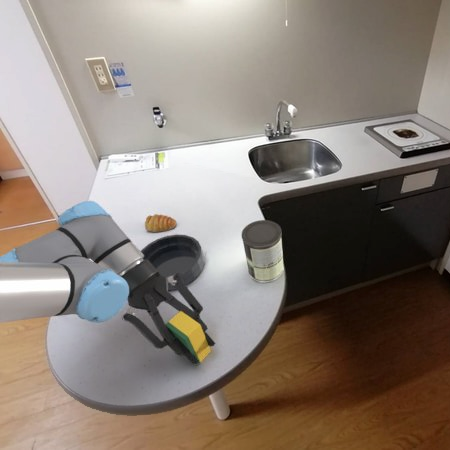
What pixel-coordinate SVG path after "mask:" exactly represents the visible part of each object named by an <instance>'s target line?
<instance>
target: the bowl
mask: <svg viewBox="0 0 450 450" xmlns="http://www.w3.org/2000/svg"><path fill="white" fill-rule="evenodd" d="M140 251H141V252H142V254H143V255H144V258H143V259H144V260H149V262H150V263H151V264H152V265H153V266H154V267H155V268H156V270H157V271H158V272H159V273H160V274H161V275H163V276H166V277H170V276H173V275H175V274H177V273H179V274H180V275H181V278H182V281H183V283H184V284H185V286H187V285H188V284H190V283H191V282H192V281H194V280H195V279H197V277H198V276H199V275H200V274H201V272H202V271H203V268H204V266H205V255H204V251H203V248H202V246H201V244H200V242H199V240H197V239H196V238H194V236H190V235H187V234H170V235H165V236H161V237H159V238H157V239H155V240H153V241H151V242H150V243H148V244H147V245H145V246H144V247H143V248H142V249H141V250H140ZM168 290H169V291H172V290H177V289H176V287H175V286H174V285H171V283H169V282H168Z"/></svg>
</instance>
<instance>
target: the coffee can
mask: <svg viewBox="0 0 450 450" xmlns="http://www.w3.org/2000/svg"><path fill="white" fill-rule="evenodd" d="M282 234H283V233H282V227H281V226H280V225H279V224H278V223H276V222H274V221H272V220H267V219H262V220H255V221H252V222H250V223H248V224H246V226H244V227H243V229H242V231H241V240H242V243H243V249H244V253H245V259H246V264H247V265H246V266H247V273H248V275H249V277H250V278H251V280H253V281H255V282H257V283H260V284H267V283H272V282H275V281H276V280H278V279H279V278H281V276H282V275H283V273H284V269H285V266H284V254H283V239H282Z"/></svg>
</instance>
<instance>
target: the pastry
mask: <svg viewBox="0 0 450 450" xmlns="http://www.w3.org/2000/svg"><path fill="white" fill-rule="evenodd" d="M176 225H177V221H176V219H175V218H173V217H171V216H168V215H164V214H158V213H156V214H153V215H151V214H150V215H148V216H147V217H146V218H145V220H144V228H145V230H146V231H149V232H154V233H158V232H166V231H170V230H172V229H174V228H175V227H176Z"/></svg>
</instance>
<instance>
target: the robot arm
mask: <svg viewBox="0 0 450 450" xmlns="http://www.w3.org/2000/svg"><path fill="white" fill-rule="evenodd" d="M57 223H58V224H59V227H58V228H56V229H55V230H52V231H50V232H48V233H46V234H44V235H41V236H39V237H37V238H35V239H32V240H31V241H28V242H26V243H24V244H22V245H20V246H17V247H14V248H12V249H11V250H10V251H8V252H6V253H5V254H3V255H1V256H0V324H1V323H9V322H18V321H25V320H33V319H41V318H50V317H51V318H52V317H61V316H63V317H64V316H69V315H75V316H76V315H77V316H78V318H79V319H81V320H86V321H88V322H90V323H104V322H106V321H109V320H110V319H112V318H114V317H116V316H117V315H118V314H119V313H120V312H121V311H122V310H123V308H124V307H125V305H126V304H128V306H129V307H128V308H127V310H126V311H125V313H124V314H122V315H121V320H122V321H124V322H127V323H128V324H131V325H132V326H133V327H134V328H135V329H136V330H137V331H138V332H139V333H140V334H141V335H142V336H143V337H144V338H145V339H146V340H147V341H148V342H149V343H150V344H151V345H152V346H154V347H155V349H157V350H162V349H164V348H166V347H169V348H170V350H171V351H172V352H173V353H174V354H175V355H176V356H178V357H182V356H184V357H186V359H187V360H188V361H189V362H190V363H191V364H192V365H196V364H197V363H198V362H199V361H198V359H197V358H196V357H195V356H194V355H193V354H192V353H191V352H190V351H189V350H188V349H187V347H186V346H185V345H184V344H183V343H182V342H181V341H180V340H179V339H178V338H176V339H173V337H172V335H171V333H170V332H169V330H168V328H167V326H166V323H165V321H164V318H163V317H162V315H161V314H160V311H159V309H158V307H159V306H160V305H161V304H162V303H163V302H164V303H166V304H168V305H169V306H171V307H172V308H173V309H175V310H176V311H177V312H178V313H179V312H180V311H182V312H183V313H185V314H186V315H188V316H189V317H190V318H192V319H193V320H195V321H196V322H197V323H199V324H200V325H201V328H202V330H203V333H204V335H205V338H206V340H207V342H208V345H209V347H215V345H216V342H215V341H214V340H213V339H212V337H211V336H210V335H209V334H208V333H207V331H208V329H209V328H208V326H207V325H206V323H205V322H204V321H203V320H202V319H201V313H202V312H203V310H204V307H203V305H202V304H201V303H200V302H199V301H198V299H197V298H196V296H194V294H193V293H192V291H190V289H189V288H188V287H187V285H185V284H184V283H183V281H182V278H181V275H180V274H179V273H177V274H175V275H173V276H170V277H166V276H163V275H161V274H160V273H159V272H158V271H157V270H156V268H155V267H154V266H153V265H152V264H151V263H150V262H149V260H144V259H143V258H144V255H143V254H142V252H141V250H140V249H139V248H138V247H137V245H136V244H135V243H134V242H133V241H132V239H130V238H129V237H128V236H127V234H125V232H124V231H123V230H122V228H121V227H120V226H119V225H118V223H116V221H115V220H114V219H113V217H112V215H111V214H109V213H108V212H107V210H105V209H104V208H103V207H102V206H101V205H100V204H99V203H98V202H96V201H93V200H85V201H82V202H79V203H77V204H75V205H73V206H72V207H70V208H68V209H66V210H65V211H63V212H62V213H61V214H60V215H59V216H58V218H57ZM168 282H169V283H171V285H174V286H175V287H176V289H175V290H177V292H178V293H179V294H180V295H181V297H182V298H183V299H184V300H185V302H186V303H187V304H188V305H189V307H190V308H189V307H188V306H187V305H186V304H184V303H183V302H182V301H180V300H178V299H177V297H175V296H174V295H173V294H171V292H170V290H168ZM136 309H137V310H142V311H146V312H147V314H148V316H149V317H150V318H151V320H152V322H153V324H154V326H155V327H156V329H157V331H158V333H159V334H160V336H161V338H162V340H161V339H160V338H159V336H158V335H156V334H155V333H154V332H153V331H152V329H150V328H149V327H148V326H147V325H146V323H144V321H142V319H140V318H139V317H138V312H137V311H136ZM183 354H184V355H183Z"/></svg>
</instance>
